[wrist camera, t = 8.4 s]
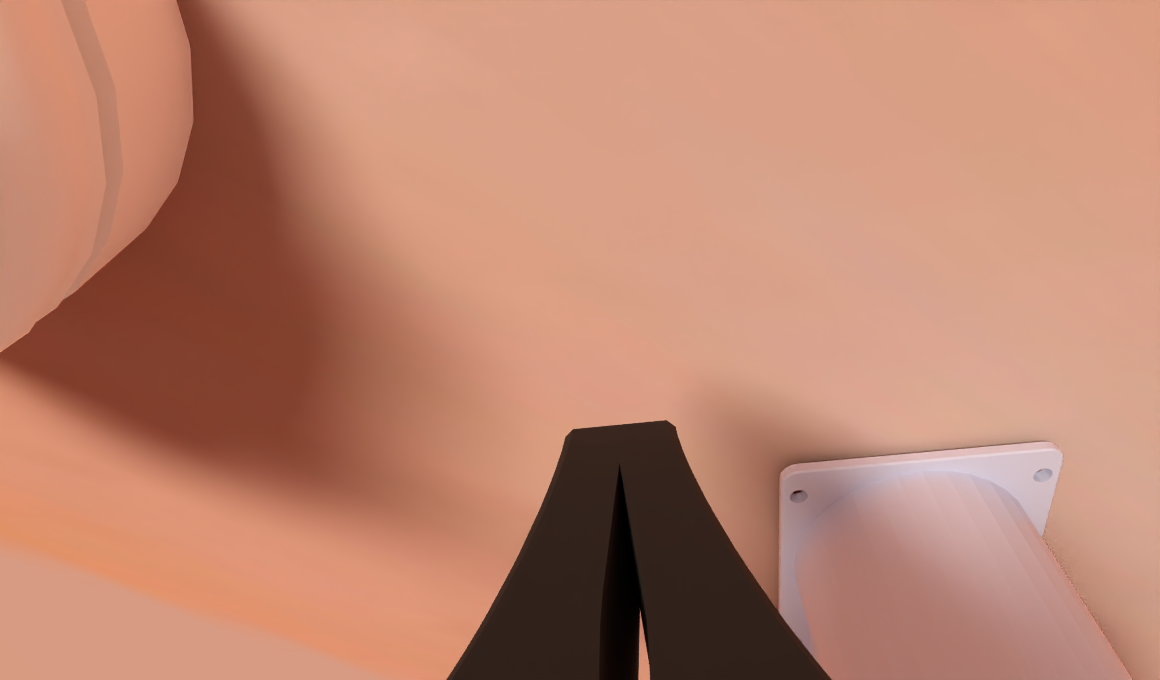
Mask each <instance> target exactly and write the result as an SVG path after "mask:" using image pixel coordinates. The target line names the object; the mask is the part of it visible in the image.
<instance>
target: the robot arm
mask: <svg viewBox="0 0 1160 680" xmlns="http://www.w3.org/2000/svg"><path fill="white" fill-rule="evenodd" d="M1062 463H1063V454H1062V452H1061V451H1060V450H1059V448H1058V447H1057V446H1056V444H1054V443H1052V442H1033V443H1021V444H1010V445H999V446H988V447H977V448H966V449H955V450H944V451H933V452H921V453H910V454H899V455H888V456H877V457H866V458H855V459H844V460H833V461H821V462H810V463H799V464H793V465H790V466H788V467H786V468H785V469H784V470H783V471H782V472H781V474H780V478H779V603H778V610H777V609H776V608H775V606H774V605H773V604H772V602H771V601H770V599H769V598H768V597H767V595H766V594H765V592H764V591H763V589H762V588H761V586H760V585H759V584H758V582H757V581H756V579H755V578H754V576H753V575H752V573H751V572H750V571H749V569H748V568H747V566H746V564H745V563H744V561H743V560H742V558H741V557H740V555H739V554H738V552H737V551H736V549H735V547H734V546H733V544H732V542H731V541H730V539H729V537H728V536H727V534H726V532H725V531H724V529H723V527H722V526H721V524H720V522H719V521H718V519H717V517H716V516H715V514H714V512H713V511H712V509H711V507H710V505H709V504H708V502H707V500H706V498H705V496H704V494H703V492H702V490H701V488H700V486H699V484H698V482H697V480H696V479H695V477H694V475H693V473H692V470H691V468H690V466H689V464H688V462H687V459H686V457H685V454H684V452H683V450H682V447H681V444H680V441H679V438H678V435H677V431H676V427H675V426H674V425H672V424H671V423H669V422H668V421H667V420H665V421H654V422H644V423H633V424H623V425H613V426H602V427H592V428H581V429H573V430H572V431H571V432H570V433H569V434H568V435H567V436H566V438H565V441H564V445H563V449H562V452H561V455H560V458H559V461H558V464H557V467H556V470H555V473H554V475H553V478H552V481H551V483H550V486H549V488H548V491H547V493H546V496H545V498H544V501H543V503H542V505H541V508H540V510H539V512H538V514H537V517H536V519H535V521H534V523H533V525H532V527H531V530H530V532H529V534H528V536H527V538H526V540H525V542H524V545H523V547H522V549H521V551H520V553H519V555H518V557H517V559H516V561H515V563H514V565H513V567H512V569H511V571H510V573H509V574H508V576H507V578H506V580H505V582H504V584H503V586H502V587H501V589H500V591H499V593H498V595H497V597H496V598H495V600H494V602H493V604H492V606H491V608H490V610H489V611H488V613H487V615H486V617H485V619H484V620H483V622H482V624H481V625H480V627H479V629H478V630H477V632H476V634H475V635H474V637H473V639H472V640H471V642H470V644H469V645H468V647H467V649H466V650H465V652H464V653H463V655H462V657H461V658H460V660H459V661H458V663H457V664H456V666H455V667H454V669H453V671H452V672H451V674H450V675H449V677H448V678H447V680H638V670H639V627H640V611H641V617H642V623H643V629H644V635H645V641H646V647H647V653H648V659H649V665H650V680H1132V678H1131V676H1130V675H1129V673H1128V672H1127V670H1126V669H1125V667H1124V665H1123V664H1122V662H1121V661H1120V659H1119V658H1118V656H1117V655H1116V653H1115V651H1114V650H1113V648H1112V647H1111V645H1110V644H1109V642H1108V640H1107V639H1106V637H1105V636H1104V634H1103V633H1102V631H1101V630H1100V628H1099V626H1098V625H1097V623H1096V622H1095V620H1094V619H1093V617H1092V615H1091V614H1090V612H1089V611H1088V609H1087V608H1086V606H1085V605H1084V603H1083V601H1082V600H1081V598H1080V597H1079V595H1078V594H1077V592H1076V590H1075V589H1074V587H1073V586H1072V584H1071V583H1070V581H1069V580H1068V578H1067V576H1066V575H1065V573H1064V572H1063V570H1062V569H1061V567H1060V566H1059V564H1058V562H1057V561H1056V559H1055V558H1054V556H1053V555H1052V553H1051V551H1050V550H1049V548H1048V547H1047V545H1046V544H1045V542H1044V541H1043V539H1042V537H1043V534H1044V530H1045V526H1046V522H1047V519H1048V515H1049V511H1050V508H1051V504H1052V500H1053V497H1054V493H1055V489H1056V486H1057V482H1058V478H1059V474H1060V471H1061V467H1062ZM1042 469H1043V470H1042ZM1039 470H1041V471H1040V472H1037V471H1039ZM797 490H803V491H801V492H800V493H796V494H794V493H793V492H794V491H797Z"/></svg>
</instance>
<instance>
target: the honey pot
mask: <svg viewBox="0 0 1160 680" xmlns="http://www.w3.org/2000/svg"><path fill="white" fill-rule="evenodd" d="M193 122H194V118H193V95H192V73H191V50H190V44H189V41H188V37H187V34H186V30H185V27H184V24H183V20H182V17H181V14H180V10H179V7H178V4H177V0H0V352H2V351H3V350H4V349H6V348H7V347H9V346H10V345H12V344H13V343H14V342H16V341H17V340H19V339H20V338H22V337H23V336H24V335H26V334H27V333H29V332H30V330H31V329H32V327H33V326H34V324H35V323H36V322H37V321H39V320H40V319H41V318H43V317H44V316H46V315H47V314H49V313H50V312H51V311H53V310H54V309H56V308H57V307H58V306H59V304H60V303H61V301H63V300H64V299H65V298H67V297H68V296H70V295H71V294H73V293H74V292H75V291H76V290H78V289H79V288H80V287H81V286H82V285H83V284H84V283H85V282H87V281H88V280H89V279H90V278H91V277H92V276H93V275H95V274H96V273H97V272H98V271H99V270H100V269H101V268H102V267H104V266H105V265H106V264H107V263H108V262H109V261H110V260H111V259H113V258H114V257H115V256H116V255H117V254H118V253H119V252H121V251H122V250H123V249H124V248H125V247H126V246H127V245H128V244H130V243H131V242H132V241H133V240H134V239H135V238H136V237H138V236H139V235H140V234H141V233H142V232H143V231H144V230H145V229H146V228H147V227H148V225H149V224H150V223H151V221H152V220H153V218H154V217H155V215H156V214H157V212H158V211H159V209H160V208H161V206H162V205H163V203H164V202H165V200H166V199H167V197H168V196H169V195H170V193H171V192H172V190H173V189H174V187H175V186H176V184H177V183H178V180H179V176H180V172H181V168H182V164H183V160H184V157H185V153H186V149H187V145H188V141H189V137H190V133H191V129H192V125H193Z"/></svg>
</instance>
